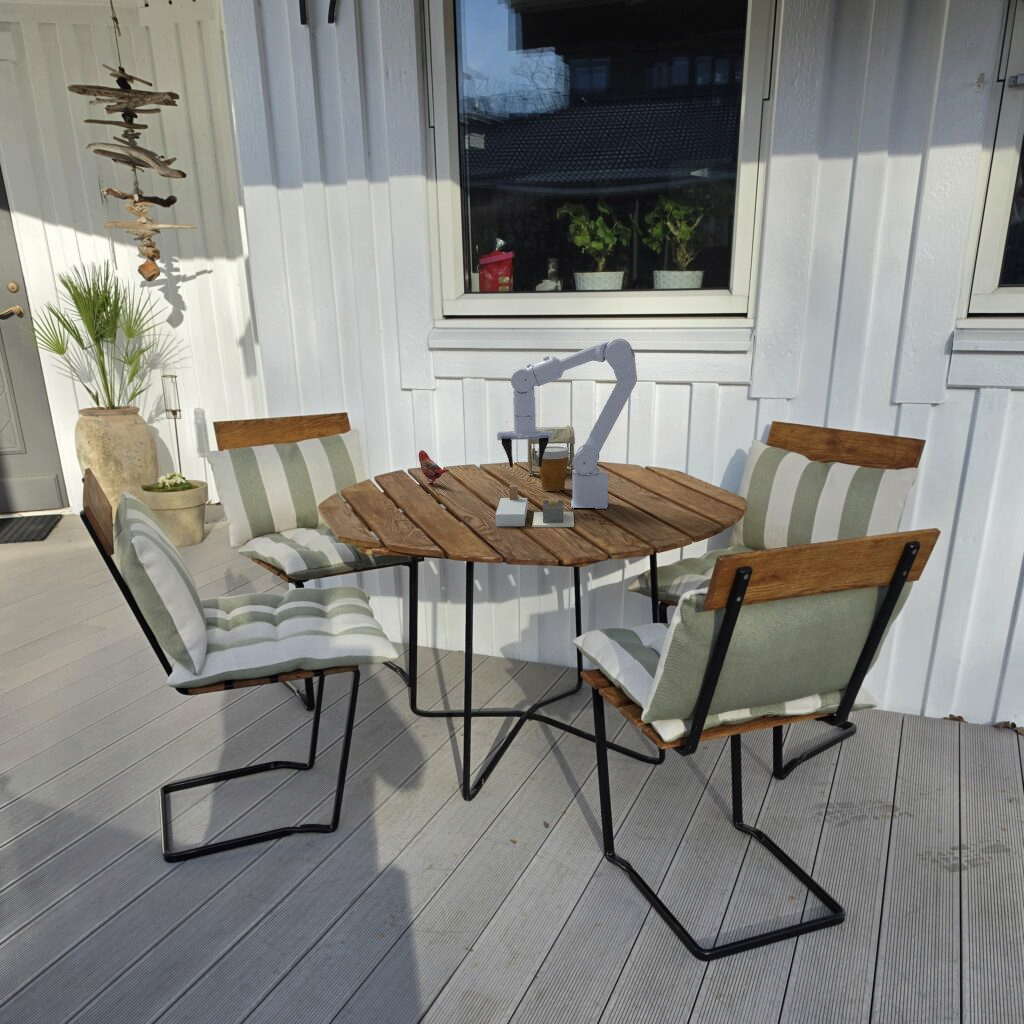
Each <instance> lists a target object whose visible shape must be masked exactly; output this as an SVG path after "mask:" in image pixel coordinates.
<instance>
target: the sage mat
mask: <svg viewBox="0 0 1024 1024" xmlns="http://www.w3.org/2000/svg"><path fill="white" fill-rule="evenodd" d="M574 517H575V516H574V511H564V521H563V523H543V511H534V512H533V521H532V525H531V526H532V528H574V527H575V523H574V521H575V520H574V519H575V518H574Z"/></svg>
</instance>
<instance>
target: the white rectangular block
mask: <svg viewBox="0 0 1024 1024" xmlns="http://www.w3.org/2000/svg"><path fill="white" fill-rule="evenodd" d="M508 488H509V491H508V492H509V497H501V498H500V499H499V501H498V502H499V503H498V506H497V508H496V512H495V527H525V524H526V519H527V514H528V507H529V505H528V497H519V493H518V492H519V491H518V484H509V487H508Z"/></svg>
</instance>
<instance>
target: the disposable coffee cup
mask: <svg viewBox="0 0 1024 1024" xmlns="http://www.w3.org/2000/svg"><path fill="white" fill-rule="evenodd" d="M536 451H537V453H536V455H537V457H538V461H539V448H537V450H536ZM569 454H570V451H569V452H568V448H567V446H566V447H565V446H559V445H558V446H557V445H555V446H551V445H550V446H547V447H546V449H545V452H544V455H543V458H542V466H541V467H538V468H539V472H540V474H539V475H540V480H541V488H542V490H543V489H544V490H547V491H558V490H562V489H564V490H565V487H566V486H565V485H566V478H567V473H566V471H568V470H567V467H568V466H567V461H568V456H569Z"/></svg>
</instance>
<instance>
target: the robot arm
mask: <svg viewBox="0 0 1024 1024" xmlns="http://www.w3.org/2000/svg"><path fill="white" fill-rule="evenodd" d="M605 361H606V362H607V363H608V365H609V366H610V367H611V368H612V370H613V372H614V375H615V378H616V384H615V386H614V387H613V389H612V391H611V393H610V395H609V396H608V398H607V400H606V403H605V405H604V406H603V408H602V410H601V412H600V414H599V416H598V417H597V420H596V422H595V423H594V426H593V428H591V429H592V430H591V431H590V433H589V435H588V437H587V439H586V440H585V442H584V444H583V445H581V446H579V447H578V449H577V450H576V451H575V453H574V457H573V460H572V464H573V468H574V470H573V471H572V474H571V475H572V477H571V478H572V499H571V500H570V506H571V509H572V508H573V509H574V508H595V509H608V508H609V507H608V503H609V499H610V498H609V493H608V491H609V490H608V488H609V486H608V485H609V483H608V482H609V479H608V472H601V470H600V468H599V467H598V466H597V465H598V462H599V460H600V454H601V453H600V452H601V450H602V448H603V446H604V444H605V443H606V441H607V439H608V437H609V435H610V434H611V431H612V430H613V428H614V425H615V424H616V422H617V421H618V418H619V416H620V415H621V413H622V411H623V410H624V407H625V405H626V403H627V401H628V400H629V397H630V395H631V394H632V392H633V391H634V388H635V387H636V384H637V381H638V374H637V373H638V372H637V366H636V365H637V364H636V354H635V352H634V350H633V347H632V346H631V344H630V342H628V341H627V339H624V338H615V339H613V340H612V341H611V342H610V341H604V342H601V343H597V344H593V345H590V346H588V347H586V348H584V349H581V350H579V351H577V352H575V353H573V354H571V355H567V356H565V357H563V358H557V357H555V356H551V357H549V356H545V357H543V360H541V361H539V362H536V363H533V364H531V363H529V364H526V368H525V367H524V368H521V369H518V370H517V371H515V372H514V373H513V374H512V376H511V378H510V384H511V386H512V388H513V399H512V405H513V407H512V408H513V430H511V431H510V430H509V431H508V430H507V431H497V433H496V436H497V441H501V445H502V447H503V449H504V452H505V453H506V456H507V460H508V464H509V468H513V466H514V459H513V441H514V440H518V441H519V440H528V439H539V444H538V449H539V467H541V466H542V458H543V455H544V452H545V449H546V447H548V440H551V439H553V431H536V427H537V425H536V397H535V387H541V386H544V385H546V384H549V383H551V382H554V381H556V380H558V379H561V378H562V377H563V374H564V372H565V371H567V370H570V369H573V368H576V367H579V366H581V365H585V364H587V363H589V362H598V363H604V362H605ZM539 467H538V468H539ZM607 507H608V508H607Z"/></svg>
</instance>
